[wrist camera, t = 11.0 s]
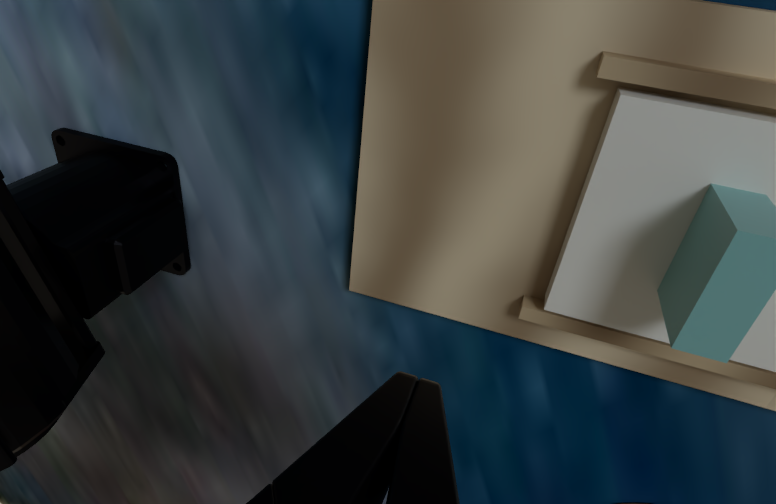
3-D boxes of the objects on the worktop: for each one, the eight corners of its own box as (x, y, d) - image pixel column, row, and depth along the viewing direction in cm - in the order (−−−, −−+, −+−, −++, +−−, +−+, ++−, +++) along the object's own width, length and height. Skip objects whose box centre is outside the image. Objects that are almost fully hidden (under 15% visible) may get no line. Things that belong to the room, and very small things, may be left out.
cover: (545, 294, 20) (539, 364, 16) (617, 86, 15) (630, 125, 12) (770, 354, 18) (814, 443, 15) (923, 141, 14) (1033, 203, 10)
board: (355, 280, 23) (342, 300, 22) (384, -45, 16) (367, -44, 15) (1065, 478, 18) (1103, 519, 17) (1568, 124, 11) (1702, 149, 10)
